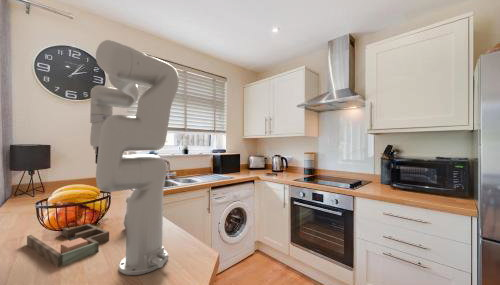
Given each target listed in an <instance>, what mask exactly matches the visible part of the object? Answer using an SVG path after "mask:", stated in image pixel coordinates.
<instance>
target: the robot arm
mask: <svg viewBox="0 0 500 285" xmlns="http://www.w3.org/2000/svg"><path fill="white" fill-rule="evenodd" d="M96 48H97V49H96V52H95V60H96V64H97V65H98V66H99V69H101V70H102V71H103V72H105V74H107V75H108V80H109V83H110V84H111V85H112V86H110V87H109V86H105V85H101V84H97V85H94V86H93V87H92V88H91V90H90V112H89V113H90V116H89V118H90V119H89V120H90V121H89V123H90V124H91V127H90V136H89V138H90V139H89V142H90V143H89V144H90V146H92V147H93V148H92V149H93V150H94V154H95V161H94V162H95V164H96V167H95V168H96V170H95V182H96V185H97V188H98V189H99V190H100V191H103V192H106V193H107V192H108V193H113V192H122V191H127V190H133V191H132V193H131V194H130V196H129V197H130V198H129V200H128V202H127V203H126V209H125V210H126V212H125V215H126V228H125V256H124V258H122V259H121V260H120V262H119V265H118V270H119V273H121V274H122V275H123V274H124V275H127V276H137V275H138V276H139V275H145V274H147V273H151V272H153V271H155V270H158V269H159V268H163V266H164V265H165V263H167V261H168V259H169V254H168V251H167V250H165V246H163V224H164V223H163V221H164V220H163V216H164V215H163V211H164V208H163V207H164V188H165V182H166V177H167V172H168V170H167V169H168V166H167V162H166V160H165V159H164V158H163V157H161V156H159V155H157V154H149V153H148V154H146V153H145V154H125V153H126V152H154V151H159V150H161V149H163V148H164V147H165V144H166V141H167V135H168V129H169V122H170V117H171V109H172V105H173V103H174V102H173V101H174V99H175V98H176V95H177V92H178V89H179V83H180V78H179V77H180V76H179V74H178V71H177V69H176V68H175V67H174V66H173V65H172V64H170V63H168V62H165V61H163V60H161V59H159V58H156V57H154V56H150V55H147V54H146V53H145V52H143V51H141V50H139V49H136V48H134V47H131V46H128V45H125V44H123V43H120V42H117V41H114V40H110V39H108V40H107V39H106V40H103V41H101V42H100V44H99V45H97V47H96ZM138 85H139V86H142V87H143V86H144V87H148V88H147V89H146V90H145V91H144V92H143V93H142V94H141V95H139V92H140V90H139V87H138ZM136 102H137V107H136V108H137V109H136V114H135V115H134V116H133V115H125V114H124V115H123V114H113V108H121V109H128V108H130V107H133V105H134V104H135V103H136Z"/></svg>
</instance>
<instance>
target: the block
mask: <svg viewBox="0 0 500 285" xmlns="http://www.w3.org/2000/svg"><path fill="white" fill-rule="evenodd" d="M86 245H88V241H87V240H84V239H82V238H78V239H75V240H69V241H65V242H63V243H60V253H61V254H63V253H66V252H69V251H71V250H74V249H77V248H80V247H83V246H86Z"/></svg>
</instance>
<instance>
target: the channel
mask: <svg viewBox="0 0 500 285" xmlns="http://www.w3.org/2000/svg"><path fill="white" fill-rule="evenodd" d="M60 236H62V237H64V238H65V237H66V238H65V239H67V238H68V240H69V239H70V240H69V241H71V240H75V239H78V238H82V239H84V240H87V241H88V245H86V246H83V247H80V248H77V249H74V250H71V251H69V252H66V253H63V254H61V252H60V251H57V250H56V249H54V248H53V247H51V246H49V245H48V244H46V243H45V242H43V241H42V240H40V239H38V238H37V237H35V236H34V235H32V234H29V235H27V236H26V246H28V247H29V248H31V249H32V250H33V251H35V252H36V253H38V254H39V255H40V256H42V258H43V257H44V258H45V259H46V260H48V261H49V262H50V263H51V264H52V265H54V266H56V267H57V268H60V267H62V266H65V265H68V264H70V263H73V262H75V261H77V260H80V259H83V258H86V257H88V256H91V255H93V254H96V253H99V248H100V244H103V243H105V242H108V241H109V240H110V231H108V230H106V229H103V228H100V227H98V226H95V225H93V224H91V223H86V224H83V225H79V226H75V227H72V228H71V227H70V228H69V227H67V228H63V231H61V230H60ZM44 258H43V259H44Z"/></svg>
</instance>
